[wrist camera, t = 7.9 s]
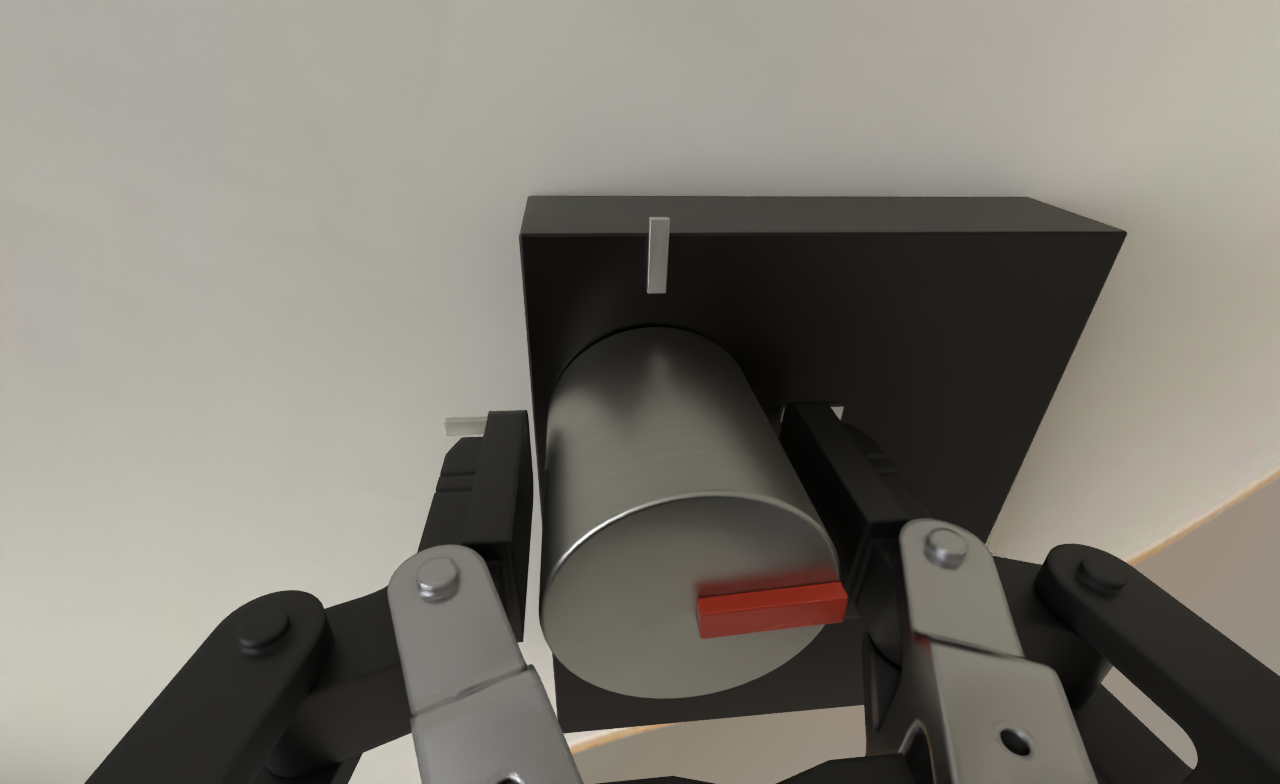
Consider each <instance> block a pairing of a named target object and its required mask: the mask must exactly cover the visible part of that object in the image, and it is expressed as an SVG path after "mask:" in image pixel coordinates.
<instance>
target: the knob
mask: <svg viewBox="0 0 1280 784" xmlns="http://www.w3.org/2000/svg"><path fill="white" fill-rule="evenodd" d="M847 603H848V595H847V593H846V591H845V589H844V587H843V585H842V583H841V570H840V561H839V557H838V554H837V550H836V548H835V546H834V544H833V542H832V540H831V538H830V536H829V534H828V533H827V531H826V529H825V527H824V525H823V523H822V521H821V519H820V517H819V516H818V514H817V512H816V510H815V508H814V506H813V504H812V502H811V500H810V499H809V497H808V495H807V493H806V491H805V489H804V487H803V485H802V483H801V482H800V480H799V478H798V476H797V474H796V472H795V470H794V468H793V467H792V465H791V463H790V461H789V459H788V457H787V455H786V453H785V451H784V450H783V448H782V446H781V444H780V442H779V440H778V438H777V436H776V434H775V433H774V431H773V429H772V427H771V425H770V423H769V421H768V419H767V417H766V416H765V414H764V412H763V410H762V408H761V406H760V404H759V402H758V400H757V399H756V397H755V395H754V393H753V391H752V389H751V387H750V385H749V383H748V382H747V380H746V378H745V376H744V374H743V372H742V370H741V368H740V367H739V366H738V364H737V363H736V362H735V360H734V359H733V358H732V357H731V356H730V355H729V354H728V353H727V352H726V351H725V350H724V349H723V348H721V347H720V346H719V345H717V344H716V343H714V342H713V341H711V340H709V339H707V338H705V337H703V336H701V335H698V334H695V333H693V332H690V331H686V330H681V329H677V328H668V327H645V328H638V329H632V330H628V331H625V332H621V333H618V334H615V335H613V336H610V337H608V338H605V339H603V340H602V341H600V342H598V343H596V344H594V345H593V346H591V347H590V348H589V349H587V350H586V351H584V352H583V353H582V354H580V355H579V356H578V357H577V358H576V359H575V360H574V361H573V362H572V363H571V364H570V365H569V367H568V368H567V369H566V370H565V371H564V373H563V374H562V376H561V377H560V379H559V381H558V382H557V384H556V386H555V389H554V391H553V393H552V396H551V400H550V404H549V408H548V419H547V441H546V462H545V484H544V506H543V528H542V550H541V571H540V593H539V619H540V625H541V629H542V632H543V635H544V638H545V640H546V642H547V644H548V646H549V647H550V649H551V651H552V652H553V654H554V655H555V656H556V657H557V659H558V660H559V661H560V662H561V663H562V664H563V665H564V666H565V667H566V668H567V669H568V670H570V671H571V672H572V673H574V674H575V675H577V676H578V677H580V678H581V679H583V680H585V681H587V682H589V683H591V684H593V685H595V686H598V687H600V688H603V689H606V690H608V691H612V692H616V693H620V694H624V695H629V696H636V697H643V698H657V699H660V698H684V697H694V696H700V695H706V694H711V693H715V692H719V691H723V690H727V689H730V688H733V687H736V686H739V685H742V684H745V683H747V682H749V681H752V680H754V679H757V678H759V677H761V676H763V675H765V674H767V673H769V672H771V671H773V670H774V669H776V668H777V667H779V666H781V665H782V664H784V663H785V662H787V661H788V660H790V659H791V658H792V657H794V656H795V655H796V654H798V653H799V652H800V651H801V650H802V649H803V648H805V647H806V646H807V645H808V644H809V643H810V642H811V641H812V640H813V639H814V638H815V636H816V635H817V634H818V633H819V632H820V631H821V629H822V628H823V626H824V625H825V624H831V623H839V622H843V621H844V616H845V612H846V607H847Z"/></svg>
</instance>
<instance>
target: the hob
mask: <svg viewBox="0 0 1280 784" xmlns="http://www.w3.org/2000/svg"><path fill="white" fill-rule="evenodd" d="M1126 235H1127V232H1126V231H1124V230H1121V229H1118V228H1115V227H1112V226H1110V225H1107V224H1104V223H1101V222H1098V221H1095V220H1092V219H1089V218H1086V217H1084V216H1081V215H1078V214H1075V213H1072V212H1069V211H1066V210H1063V209H1060V208H1058V207H1055V206H1052V205H1049V204H1046V203H1043V202H1040V201H1037V200H1034V199H1031V198H1029V197H726V196H529V197H528V200H527V204H526V209H525V213H524V217H523V222H522V226H521V230H520V235H519V242H520V255H521V267H522V280H523V292H524V305H525V317H526V330H527V342H528V355H529V367H530V380H531V392H532V405H533V417H534V430H535V442H536V455H537V467H538V480H539V492H540V505H541V517H542V528H543V506H544V484H545V462H546V441H547V419H548V408H549V404H550V400H551V396H552V393H553V391H554V389H555V386H556V384H557V382H558V381H559V379H560V377H561V376H562V374H563V373H564V371H565V370H566V369H567V368H568V367H569V365H570V364H571V363H572V362H573V361H574V360H575V359H576V358H577V357H578V356H579V355H580V354H582V353H583V352H584V351H586V350H587V349H589V348H590V347H591V346H593V345H594V344H596V343H598V342H600V341H602V340H603V339H605V338H608V337H610V336H613V335H615V334H618V333H621V332H625V331H628V330H632V329H638V328H645V327H668V328H677V329H681V330H686V331H690V332H693V333H695V334H698V335H701V336H703V337H705V338H707V339H709V340H711V341H713V342H714V343H716V344H717V345H719V346H720V347H721V348H723V349H724V350H725V351H726V352H727V353H728V354H729V355H730V356H731V357H732V358H733V359H734V360H735V362H736V363H737V364H738V366H739V367H740V368H741V370H742V372H743V374H744V376H745V378H746V380H747V382H748V383H749V385H750V387H751V389H752V391H753V393H754V395H755V397H756V399H757V400H758V402H759V404H760V406H761V408H762V410H763V412H764V414H765V416H766V417H767V419H768V421H769V423H770V425H771V427H772V429H773V431H774V433H775V434H776V436H777V438H778V440H779V435H780V430H781V425H782V419H783V414H784V410H785V407H786V405H787V404H788V403H789V402H812V401H825V402H827V403H828V404H829V405H830V407H831V408H832V409H833V411H834V412H835V414H836V415H837V416H838V418H839V419H840V421H841V422H842V423H843V424H852V425H854V426H855V427H857V428H858V429H860V430H861V431H863V432H864V433H866V434H867V435H868V436H870V437H871V438H873V440H874V441H875V442H876V444H877V445H878V446H879V448H880V449H881V450H882V451H883V453H884V454H885V458H888V459H889V461H890V462H891V463H892V464H893V466H894V467H895V468H896V469H895V470H896V472H899V474H900V475H901V476H902V478H903V479H904V480H905V481H906V483H907V484H908V485H909V487H910V488H911V489H912V491H913V492H914V493H915V494H916V496H917V497H918V498H919V500H920V501H921V502H922V504H923V505H924V506H925V507H926V509H927V510H928V511H929V513H930V514H931V515H932V517H933V518H934V519H939V520H943V521H947V522H950V523H953V524H955V525H958V526H960V527H962V528H964V529H966V530H967V531H969V532H971V533H972V534H973V535H975V536H976V537H977V538H979V539H980V540H981V541H982V542H983V543H984V544H986V541H987V539H988V537H989V535H990V533H991V530H992V528H993V526H994V524H995V522H996V519H997V517H998V515H999V513H1000V511H1001V509H1002V506H1003V504H1004V502H1005V500H1006V498H1007V495H1008V493H1009V491H1010V489H1011V487H1012V485H1013V482H1014V480H1015V478H1016V476H1017V474H1018V471H1019V469H1020V467H1021V465H1022V463H1023V460H1024V458H1025V456H1026V454H1027V452H1028V450H1029V447H1030V445H1031V443H1032V441H1033V439H1034V436H1035V434H1036V432H1037V430H1038V428H1039V426H1040V423H1041V421H1042V419H1043V417H1044V415H1045V412H1046V410H1047V408H1048V406H1049V404H1050V401H1051V399H1052V397H1053V395H1054V393H1055V391H1056V388H1057V386H1058V384H1059V382H1060V380H1061V377H1062V375H1063V373H1064V371H1065V369H1066V367H1067V364H1068V362H1069V360H1070V358H1071V356H1072V353H1073V351H1074V349H1075V347H1076V345H1077V343H1078V340H1079V338H1080V336H1081V334H1082V332H1083V329H1084V327H1085V325H1086V323H1087V321H1088V318H1089V316H1090V314H1091V312H1092V310H1093V308H1094V305H1095V303H1096V301H1097V299H1098V297H1099V294H1100V292H1101V290H1102V288H1103V286H1104V284H1105V281H1106V279H1107V277H1108V275H1109V273H1110V270H1111V268H1112V266H1113V264H1114V262H1115V259H1116V257H1117V255H1118V253H1119V251H1120V249H1121V246H1122V244H1123V242H1124V240H1125V238H1126ZM487 417H488V416H484V417H457V418H445V421H444V424H445V430H446V435H447V436H453V435H478V434H484V431H485V426H486V422H487ZM865 631H866V627H865V625H864V623H863V621H862V619H861V618H852V619H844V621H843V622H839V623H831V624H825V625H824V626H823V628H822V629H821V631H820V632H819V633H818V634H817V635H816V636H815V638H814V639H813V640H812V641H811V642H810V643H809V644H808V645H807V646H806V647H805V648H803V649H802V650H801V651H800V652H799V653H798V654H796V655H795V656H794V657H792V658H791V659H790V660H788V661H787V662H785V663H784V664H782V665H781V666H779V667H777V668H776V669H774V670H773V671H771V672H769V673H767V674H765V675H763V676H761V677H759V678H757V679H754V680H752V681H749V682H747V683H745V684H742V685H739V686H736V687H733V688H730V689H727V690H723V691H719V692H715V693H711V694H706V695H700V696H694V697H684V698H660V699H657V698H643V697H636V696H629V695H624V694H620V693H616V692H612V691H608V690H606V689H603V688H600V687H598V686H595V685H593V684H591V683H589V682H587V681H585V680H583V679H581V678H580V677H578V676H577V675H575V674H574V673H572V672H571V671H570V670H568V669H567V668H566V667H565V666H564V665H563V664H562V663H561V662H560V661H559V660H558V659H557V657H556V656H555V655H554V654H553V652H552V655H553V668H554V680H555V693H556V705H557V718H558V722H559V725H560V727H561V730H562V732H563V733H572V732H582V731H593V730H603V729H614V728H625V727H635V726H646V725H656V724H667V723H677V722H688V721H698V720H709V719H718V718H730V717H741V716H751V715H762V714H772V713H783V712H792V711H804V710H813V709H824V708H835V707H845V706H856V705H864V688H863V668H862V649H861V646H862V640H863V637H864V634H865Z"/></svg>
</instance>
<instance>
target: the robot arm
mask: <svg viewBox="0 0 1280 784" xmlns="http://www.w3.org/2000/svg"><path fill="white" fill-rule="evenodd" d="M779 442H780V444H781V446H782V448H783V450H784V451H785V453H786V455H787V457H788V459H789V461H790V463H791V465H792V467H793V468H794V470H795V472H796V474H797V476H798V478H799V480H800V482H801V483H802V485H803V487H804V489H805V491H806V493H807V495H808V497H809V499H810V500H811V502H812V504H813V506H814V508H815V510H816V512H817V514H818V516H819V517H820V519H821V521H822V523H823V525H824V527H825V529H826V531H827V533H828V534H829V536H830V538H831V540H832V542H833V544H834V546H835V548H836V550H837V554H838V557H839V561H840V570H841V583H842V585H843V587H844V589H845V591H846V593H847V595H848V603H847V607H846V612H845V616H844V619H852V618H861V619H862V621H863V623H864V625H865V627H866V631H865V634H864V637H863V640H862V646H861V649H862V668H863V688H864V707H865V726H866V755H865V757H856V758H846V759H837V760H829V761H827V762H824V763H822V764H820V765H817V766H815V767H813V768H811V769H808V770H806V771H804V772H801V773H799V774H797V775H795V776H792V777H790V778H788V779H786V780H783V781H781V782H779V783H776V784H1280V676H1278V675H1277V674H1276V673H1274V672H1273V671H1272V670H1270V669H1269V668H1268V667H1266V666H1265V665H1264V664H1262V663H1261V662H1259V661H1258V660H1257V659H1256V658H1254V657H1253V656H1252V655H1250V654H1249V653H1247V652H1246V651H1245V650H1244V649H1242V648H1241V647H1239V646H1238V645H1237V644H1235V643H1234V642H1232V641H1231V640H1230V639H1229V638H1227V637H1226V636H1225V635H1223V634H1222V633H1221V632H1219V631H1218V630H1217V629H1215V628H1214V627H1213V626H1211V625H1210V624H1209V623H1207V622H1206V621H1204V620H1203V619H1202V618H1200V617H1199V616H1198V615H1196V614H1195V613H1194V612H1192V611H1191V610H1190V609H1188V608H1187V607H1186V606H1184V605H1183V604H1181V603H1180V602H1179V601H1178V600H1176V599H1175V598H1174V597H1172V596H1171V595H1170V594H1168V593H1167V592H1165V591H1164V590H1163V589H1161V588H1160V587H1159V586H1157V585H1156V584H1155V583H1153V582H1152V581H1151V580H1149V579H1148V578H1147V577H1145V576H1144V575H1143V574H1141V573H1140V572H1139V571H1137V570H1136V569H1135V568H1133V567H1132V566H1130V565H1129V564H1127V563H1126V562H1124V561H1123V560H1121V559H1119V558H1117V557H1116V556H1113V555H1111V554H1109V553H1107V552H1105V551H1102V550H1099V549H1097V548H1093V547H1090V546H1085V545H1080V544H1062V545H1058V546H1056V547H1054V548H1053V549H1051V550H1050V552H1049V554H1048V555H1047V557H1046V559H1045V561H1044V563H1043V565H1039V564H1034V563H1028V562H1023V561H1017V560H1012V559H1007V558H1001V557H996V556H992V554H991V552H990V551H989V549H988V548H987V547H986V545H985V544H984V543H983V542H982V541H981V540H980V539H979V538H977V537H976V536H975V535H973V534H972V533H971V532H969V531H967V530H966V529H964V528H962V527H960V526H958V525H955V524H953V523H950V522H947V521H943V520H939V519H934V518H933V517H932V515H931V514H930V513H929V511H928V510H927V509H926V507H925V506H924V505H923V504H922V502H921V501H920V500H919V498H918V497H917V496H916V494H915V493H914V492H913V491H912V489H911V488H910V487H909V485H908V484H907V483H906V481H905V480H904V479H903V478H902V476H901V475H900V474H899V472H896V470H895V469H896V468H895V467H894V466H893V464H892V463H891V462H890V461H889V459H888V458H885V454H884V453H883V451H882V450H881V449H880V448H879V446H878V445H877V444H876V442H875V441H874V440H873V438H871V437H870V436H868V435H867V434H866V433H864V432H863V431H861V430H860V429H858V428H857V427H855V426H854V425H852V424H843V423H842V422H841V421H840V419H839V418H838V416H837V415H836V414H835V412H834V411H833V409H832V408H831V407H830V405H829V404H828V403H827V402H825V401H812V402H789V403H788V404H787V405H786V407H785V410H784V414H783V419H782V425H781V430H780V435H779ZM440 474H441V476H440V477H439V480H438V483H437V487H436V493H434V497H433V500H432V504H431V507H430V511H429V514H428V517H427V521H426V524H425V528H424V531H423V535H422V538H421V542H420V545H419V548H418V552H417V554H415V555H413V556H411V557H410V558H408V559H407V560H406V561H405V562H403V563H402V564H401V565H400V566H399V567H398V568H397V570H396V571H395V572H394V574H393V575H392V577H391V579H390V582H389V584H388V586H386V587H384V588H383V589H381V590H379V591H377V592H374V593H372V594H369V595H367V596H364V597H361V598H358V599H354V600H351V601H348V602H345V603H342V604H338V605H335V606H332V607H329V608H326V609H324V607H323V605H322V603H321V602H320V601H319V599H318V598H316V597H315V596H313V595H312V594H309V593H307V592H303V591H294V590H288V591H279V592H275V593H270V594H267V595H264V596H261V597H259V598H256V599H254V600H252V601H250V602H248V603H246V604H244V605H243V606H241V607H239V608H238V609H237V610H235V611H234V612H232V613H231V614H230V615H229V616H227V617H226V618H225V619H224V620H223V621H222V622H221V623H220V624H219V625H218V626H217V627H216V628H215V629H214V631H213V632H212V633H211V634H210V635H209V637H208V638H207V639H206V640H205V641H204V642H203V644H202V645H201V646H200V647H199V648H198V650H197V651H196V652H195V653H194V654H193V656H192V657H191V658H190V659H189V660H188V661H187V663H186V664H185V665H184V666H183V667H182V669H181V670H180V671H179V672H178V673H177V674H176V676H175V677H174V678H173V679H172V680H171V682H170V683H169V684H168V685H167V686H166V687H165V689H164V690H163V691H162V692H161V693H160V695H159V696H158V697H157V698H156V699H155V700H154V702H153V703H152V704H151V705H150V706H149V708H148V709H147V710H146V711H145V712H144V713H143V715H142V716H141V717H140V718H139V719H138V721H137V722H136V723H135V724H134V725H133V726H132V728H131V729H130V730H129V731H128V732H127V734H126V735H125V736H124V737H123V738H122V740H121V741H120V742H119V743H118V744H117V745H116V747H115V748H114V749H113V750H112V751H111V753H110V754H109V755H108V756H107V757H106V758H105V760H104V761H103V762H102V763H101V764H100V766H99V767H98V768H97V769H96V770H95V771H94V773H93V774H92V775H91V776H90V777H89V779H88V780H87V781H86V782H85V783H84V784H348V782H349V780H350V778H351V776H352V774H353V772H354V770H355V768H356V766H357V764H358V762H359V760H360V758H361V755H362V753H363V752H366V751H368V750H371V749H373V748H375V747H378V746H380V745H383V744H385V743H388V742H390V741H393V740H395V739H397V738H400V737H402V736H405V735H407V734H410V733H412V735H413V741H414V746H415V751H416V756H417V761H418V766H419V771H420V776H421V781H422V784H584V783H583V781H582V778H581V776H580V773H579V771H578V769H577V766H576V764H575V762H574V759H573V756H572V754H571V752H570V749H569V747H568V744H567V742H566V739H565V737H564V734H563V732H562V730H561V727H560V725H559V722H558V720H557V717H556V715H555V713H554V710H553V708H552V705H551V703H550V700H549V698H548V696H547V693H546V691H545V688H544V686H543V683H542V681H541V679H540V677H539V675H538V673H537V671H536V669H535V668H534V666H533V665H532V664H530V665H528V666H527V664H526V662H525V660H524V658H523V656H522V653H521V651H520V648H519V646H518V643H517V642H523V634H524V621H525V607H526V593H527V579H528V565H529V551H530V538H531V524H532V510H533V470H532V458H531V445H530V433H529V421H528V413H527V410H516V411H489V413H488V417H487V422H486V426H485V431H484V436H483V437H465V438H461V439H460V440H459V441H458V442H457V443H456V444H455V445H454V446H453V447H452V448H451V449H450V451H449V452H448V453H447V454H446V456H445V459H444V463H443V466H442V469H441V473H440ZM1113 666H1114V667H1115V668H1117V669H1118V670H1119V671H1120V672H1121V673H1122V674H1123V675H1124V676H1125V677H1126V678H1128V679H1129V680H1130V681H1131V682H1132V683H1133V684H1134V685H1135V686H1136V687H1138V688H1139V689H1140V690H1141V691H1142V692H1143V693H1144V694H1145V695H1146V696H1147V697H1149V698H1150V699H1151V700H1152V701H1153V702H1154V703H1155V704H1156V705H1157V706H1159V707H1160V708H1161V709H1162V710H1163V711H1164V712H1165V713H1166V714H1167V715H1168V716H1169V717H1171V718H1172V719H1173V720H1174V721H1175V722H1176V723H1177V724H1178V725H1179V726H1180V727H1181V728H1182V729H1183V730H1184V731H1185V732H1186V733H1187V734H1188V736H1189V737H1190V739H1191V740H1192V742H1193V744H1194V746H1195V748H1196V751H1197V756H1198V763H1197V766H1196V767H1195V769H1194V770H1193V769H1191V768H1190V767H1189V766H1187V765H1186V764H1185V763H1184V762H1183V761H1182V760H1181V759H1180V758H1179V757H1178V756H1177V755H1175V753H1174V752H1172V751H1171V750H1170V749H1169V748H1168V747H1167V746H1166V745H1165V744H1164V743H1163V742H1162V741H1161V740H1160V739H1159V738H1158V737H1157V736H1156V735H1154V734H1153V733H1152V732H1151V731H1150V730H1149V729H1148V728H1147V727H1146V726H1145V725H1144V724H1143V723H1142V722H1141V721H1140V720H1139V719H1138V718H1137V717H1135V716H1134V715H1133V714H1132V713H1131V712H1130V711H1129V710H1128V709H1127V708H1126V707H1125V706H1124V705H1123V704H1122V703H1121V702H1120V701H1119V700H1118V699H1117V698H1115V697H1114V696H1113V695H1112V694H1111V693H1110V692H1109V691H1108V690H1107V689H1106V688H1105V687H1104V686H1103V685H1102V684H1101V682H1102V681H1103V679H1104V678H1105V676H1106V675H1107V673H1108V672H1109V671H1110V669H1111V668H1112V667H1113ZM599 784H714V783H709V782H703V781H698V780H692V779H687V778H681V777H676V776H668V777H658V778H648V779H638V780H628V781H618V782H608V783H599Z"/></svg>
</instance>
